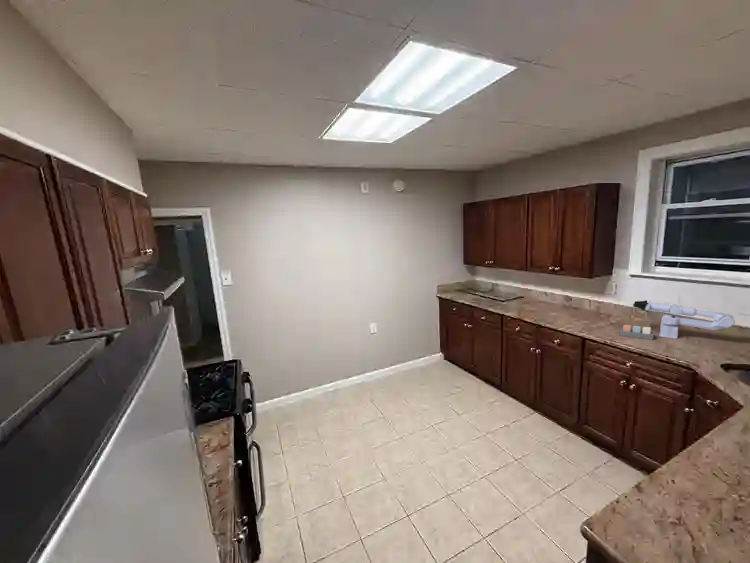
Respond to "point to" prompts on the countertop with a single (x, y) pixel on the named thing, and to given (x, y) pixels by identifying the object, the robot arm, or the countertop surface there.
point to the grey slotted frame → (637, 334)
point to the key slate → (637, 329)
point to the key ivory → (646, 330)
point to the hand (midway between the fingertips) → (633, 303)
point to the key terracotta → (627, 328)
